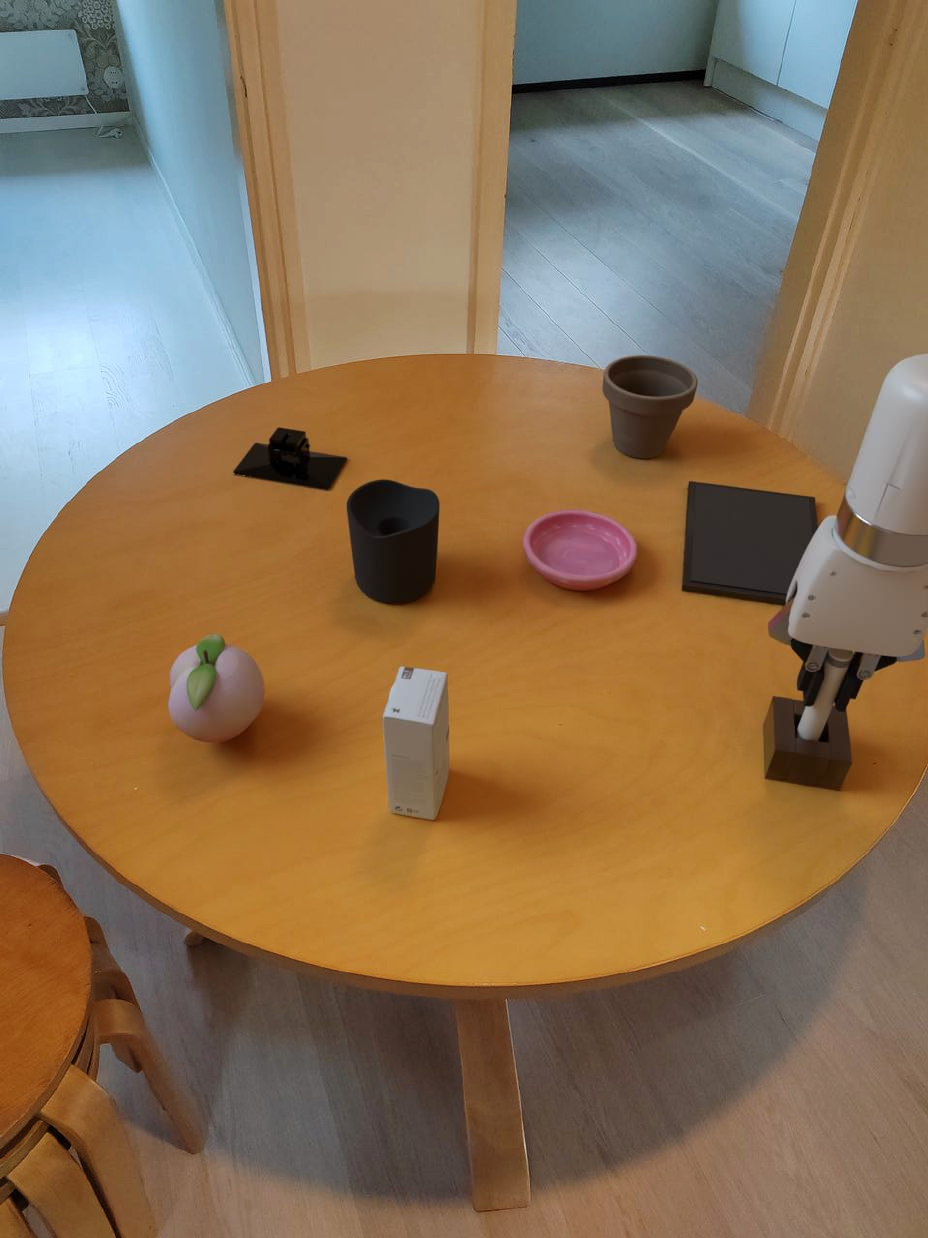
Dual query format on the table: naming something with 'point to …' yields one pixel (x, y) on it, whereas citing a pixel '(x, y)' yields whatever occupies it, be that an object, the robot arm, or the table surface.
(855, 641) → the robot arm
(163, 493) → the table surface
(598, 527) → the saucer
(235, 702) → the decorative fruit
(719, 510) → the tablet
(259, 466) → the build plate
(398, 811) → the cosmetic box
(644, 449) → the flower pot
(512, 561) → the table surface
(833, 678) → the stylus
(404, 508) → the pen holder
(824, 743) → the pen stand
